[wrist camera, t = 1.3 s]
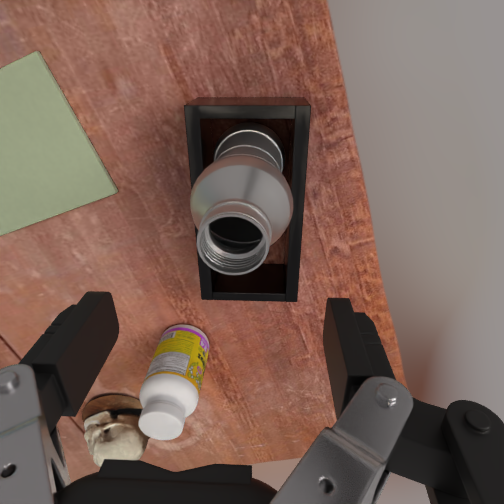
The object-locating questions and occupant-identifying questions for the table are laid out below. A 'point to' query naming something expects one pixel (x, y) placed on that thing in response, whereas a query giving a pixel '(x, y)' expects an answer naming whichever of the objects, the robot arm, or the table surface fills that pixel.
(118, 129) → the table surface
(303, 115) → the bottle rack
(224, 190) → the silver water bottle
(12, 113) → the mat
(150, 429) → the supplement bottle
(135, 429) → the skull
